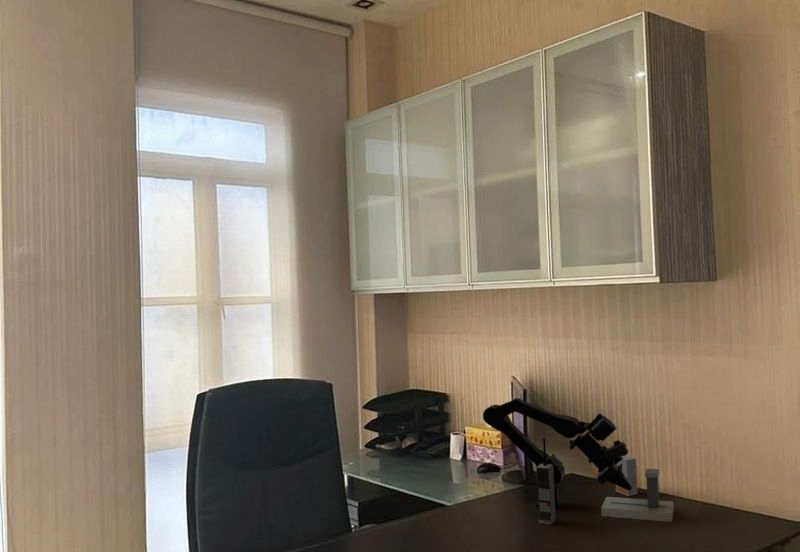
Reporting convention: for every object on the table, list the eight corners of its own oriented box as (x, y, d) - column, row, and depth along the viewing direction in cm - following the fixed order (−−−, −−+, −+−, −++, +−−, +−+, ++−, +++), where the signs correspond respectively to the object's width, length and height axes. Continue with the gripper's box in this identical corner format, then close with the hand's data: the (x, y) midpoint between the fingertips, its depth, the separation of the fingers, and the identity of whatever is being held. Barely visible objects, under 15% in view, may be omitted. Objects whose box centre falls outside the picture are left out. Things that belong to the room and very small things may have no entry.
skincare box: (615, 492, 239) (613, 456, 239) (625, 490, 241) (623, 454, 241) (628, 496, 234) (626, 460, 234) (638, 494, 235) (636, 458, 236)
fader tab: (646, 507, 213) (645, 473, 213) (648, 501, 218) (646, 468, 218) (659, 508, 211) (657, 473, 212) (660, 502, 216) (658, 469, 217)
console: (601, 516, 215) (601, 507, 215) (606, 504, 226) (606, 496, 226) (672, 522, 207) (671, 513, 207) (673, 509, 218) (673, 501, 218)
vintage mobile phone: (538, 523, 210) (534, 439, 211) (543, 518, 214) (539, 436, 215) (551, 525, 208) (547, 440, 209) (555, 520, 213) (551, 436, 213)
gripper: (607, 439, 211) (647, 480, 206) (615, 427, 228) (652, 465, 224) (581, 464, 214) (620, 504, 209) (590, 450, 231) (626, 487, 227)
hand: (630, 489), depth 217 cm, fingers closed
